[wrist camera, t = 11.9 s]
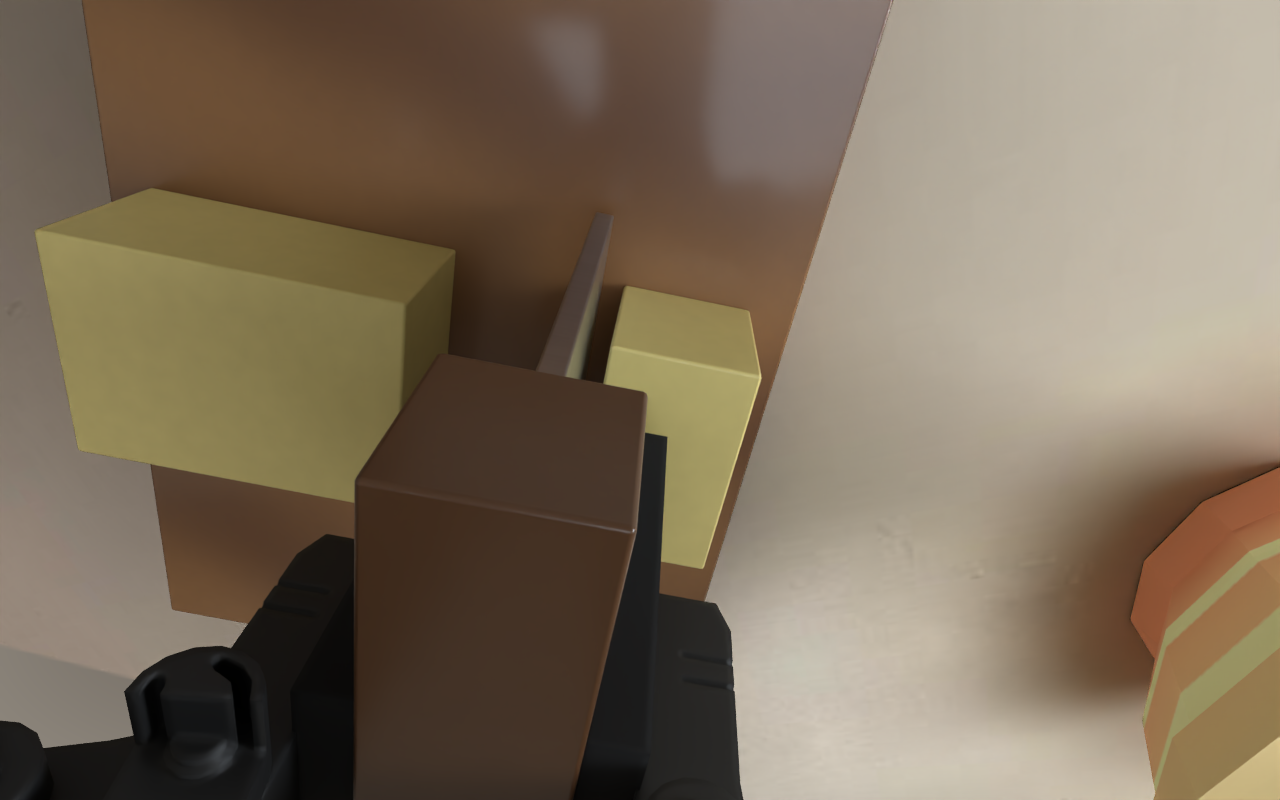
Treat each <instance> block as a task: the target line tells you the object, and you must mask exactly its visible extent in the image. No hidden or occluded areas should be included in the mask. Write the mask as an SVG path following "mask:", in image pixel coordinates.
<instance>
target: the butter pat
mask: <svg viewBox="0 0 1280 800" xmlns="http://www.w3.org/2000/svg"><path fill="white" fill-rule="evenodd" d="M761 379H762V378H761V372H760V366H759V361H758V356H757V350H756V345H755V339H754V334H753V328H752V323H751V318H750V312H749V311H748V310H744V309H739V308H734V307H729V306H724V305H719V304H714V303H709V302H705V301H700V300H695V299H690V298H685V297H680V296H675V295H670V294H665V293H661V292H656V291H651V290H646V289H641V288H636V287H631V286H625V287H624V289H623V293H622V298H621V302H620V306H619V311H618V315H617V320H616V324H615V328H614V333H613V337H612V342H611V346H610V351H609V356H608V361H607V367H606V372H605V377H604V382H603V384H607V385H612V386H618V387H623V388H628V389H633V390H639V391H643V392H645V393H647V396H648V403H647V415H646V427H645V432H646V433H651V434H656V435H661V436H666V437H668V438H667V457H666V476H665V495H664V514H663V533H662V552H661V562H666V563H672V564H677V565H682V566H687V567H693V568H698V569H703V567H704V565H705V562H706V559H707V555H708V552H709V549H710V546H711V542H712V539H713V536H714V532H715V529H716V526H717V523H718V519H719V516H720V513H721V510H722V506H723V503H724V500H725V496H726V493H727V490H728V487H729V483H730V480H731V477H732V474H733V470H734V467H735V464H736V460H737V457H738V454H739V451H740V447H741V444H742V441H743V438H744V434H745V431H746V428H747V424H748V421H749V418H750V415H751V411H752V408H753V405H754V402H755V398H756V395H757V392H758V388H759V385H760V382H761Z"/></svg>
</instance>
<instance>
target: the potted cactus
mask: <svg viewBox="0 0 1280 800" xmlns="http://www.w3.org/2000/svg"><path fill="white" fill-rule="evenodd" d="M1130 620H1131V622H1132V623H1133V625H1134V627H1135V628H1136V630H1137V632H1138V633H1139V635H1140V636H1141V638H1142V640H1143V641H1144V643H1145V645H1146V646H1147V648H1148V649H1149V651H1150V653H1151V654H1152V656H1153V658H1154V659H1155V662H1154V667H1153V672H1152V676H1151V681H1150V686H1149V691H1148V696H1147V701H1146V705H1145V710H1144V715H1143V720H1142V721H1143V727H1144V732H1145V738H1146V744H1147V749H1148V755H1149V760H1150V766H1151V771H1152V777H1153V782H1154V788H1155V797H1154V800H1280V467H1279V468H1277V469H1275V470H1272V471H1270V472H1268V473H1266V474H1263V475H1261V476H1259V477H1257V478H1255V479H1252V480H1250V481H1248V482H1246V483H1243V484H1241V485H1239V486H1237V487H1234V488H1232V489H1230V490H1228V491H1226V492H1223V493H1221V494H1219V495H1217V496H1214V497H1212V498H1210V499H1208V500H1206V501H1203V502H1202V503H1201V504H1200V505H1199V506H1198V507H1197V508H1196V509H1195V510H1194V511H1193V512H1192V513H1191V514H1190V515H1189V516H1188V517H1187V518H1186V519H1185V520H1184V521H1183V522H1182V523H1181V524H1180V525H1179V526H1178V527H1177V528H1176V529H1175V530H1174V531H1173V532H1172V533H1171V534H1170V535H1169V536H1168V537H1167V538H1166V539H1165V540H1164V541H1163V542H1162V543H1161V544H1160V545H1159V546H1158V547H1157V548H1156V549H1155V550H1154V551H1153V552H1152V553H1151V554H1150V555H1149V556H1148V557H1147V559H1146V560H1145V561H1144V564H1143V568H1142V572H1141V577H1140V581H1139V585H1138V589H1137V593H1136V598H1135V602H1134V606H1133V610H1132V614H1131V619H1130Z"/></svg>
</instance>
